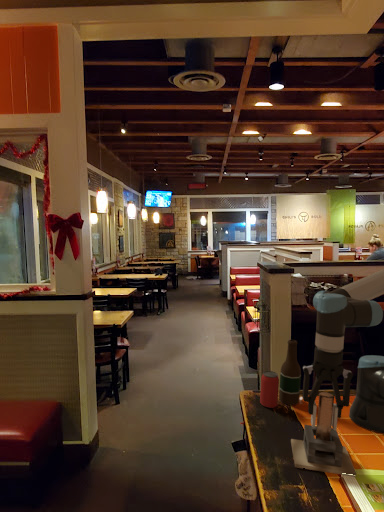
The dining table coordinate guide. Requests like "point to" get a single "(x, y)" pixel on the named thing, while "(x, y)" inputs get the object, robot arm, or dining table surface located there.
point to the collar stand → (330, 463)
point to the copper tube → (324, 418)
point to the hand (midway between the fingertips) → (323, 426)
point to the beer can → (269, 389)
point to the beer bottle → (290, 376)
